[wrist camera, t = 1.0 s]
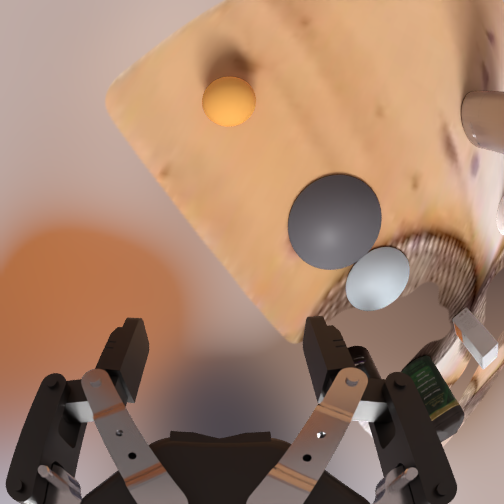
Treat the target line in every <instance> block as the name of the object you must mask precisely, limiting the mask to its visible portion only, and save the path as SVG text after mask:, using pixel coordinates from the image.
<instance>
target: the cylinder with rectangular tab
mask: <svg viewBox="0 0 504 504" xmlns="http://www.w3.org/2000/svg"><path fill="white" fill-rule="evenodd" d="M497 227H498V230H499V232H500V233H501V234H503V235H504V196H503V197H502V199H501V202H500V204H499V207H498V211H497Z"/></svg>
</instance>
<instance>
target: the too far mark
mask: <svg viewBox="0 0 504 504" xmlns="http://www.w3.org/2000/svg"><path fill="white" fill-rule="evenodd" d="M408 278H409V263H408V260H407V258H406V257H405V255H404V254H403V253H402V252H401V251H399V250H398V249H395V248H392V247H381V248H377V249H374V250H372V251H370V252H368V253H367V254H366V255H365V256H363V257H362V258H361V259H360V260H358V261H357V262H356V263H355V265H354V266H353V267H352V269H351V271H350V273H349V275H348V278H347V281H346V294H347V298H348V300H349V301H350V303H351V304H352V305H353V306H354V307H356V308H357V309H360V310H364V311H374V310H378V309H381V308H384V307H385V306H387V305H389V304H390V303H392V302H393V301H394V300H395V299H396V298H397V297H398V296H399V295H400V294H401V293H402V291H403V290H404V288H405V286H406V284H407V281H408Z"/></svg>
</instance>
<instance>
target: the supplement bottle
mask: <svg viewBox="0 0 504 504" xmlns="http://www.w3.org/2000/svg"><path fill="white" fill-rule="evenodd" d="M348 350H349V353H350V355H351V357H352V359H353V362H354V364H355V366H356V368H357V369H360V370H361V371H363V372H364V373H365V374H366V376H367V377H369V378H373V379H381V377H380V375H379V373H378V370H377V368H376V366H375V364H374V362H373V360H372V358H371V356H370V354H369V352H368V350H367V349H366V348H364V347H362V346H353V347H349V348H348Z"/></svg>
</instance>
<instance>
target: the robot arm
mask: <svg viewBox="0 0 504 504" xmlns="http://www.w3.org/2000/svg"><path fill="white" fill-rule="evenodd" d="M461 116H462V123H463V128H464V131H465V133H466V135H467V137H468V139H469V140H470V141H471V143H472V144H474V145H475V146H477V147H479V148H483V149H487V150H491V151H495V152H498V153H502V154H504V92H500V91H472V92H470V93H468V94H467V95H466V97H465V99H464V101H463V104H462V113H461ZM303 350H304V355H305V358H306V362H307V365H308V369H309V373H310V376H311V380H312V384H313V387H314V391H315V395H316V398H317V401H318V403H320V402H321V404H318V405H317V407H316V408H315V410H314V411H313V413H312V415H311V416H310V417H309V419H308V421H307V422H306V424H305V425H304V427H303V428H302V430H301V431H300V433H299V434H298V436H297V437H296V439H295V440H294V441H293V443H292V444H290V443H288V442H285V441H283V440H279V439H275V438H271V434H270V432H256V433H243V434H239V435H235V436H231V437H226V438H220V439H219V438H214V437H210V436H206V435H202V434H198V433H193V432H177V431H171V432H170V437H169V438H164V439H161V440H158V441H155V442H153V443H151V444H150V445H148V444H147V442H146V441H145V439H144V438H143V436H142V434H141V433H140V431H139V430H138V428H137V426H136V425H135V423H134V421H133V420H132V418H131V416H130V414H129V413H128V411H127V409H126V404H127V402H130V403H135V399H136V396H137V392H138V388H139V385H140V381H141V378H142V374H143V370H144V367H145V363H146V360H147V356H148V353H149V341H148V337H147V334H146V330H145V326H144V322H143V320H142V318H127V319H126V320H125V323H124V325H123V327H118V328H116V329H115V330H114V331H113V332H112V333H111V335H110V337H109V339H108V342H107V343H106V345H105V348H104V350H103V352H102V354H101V356H100V359H99V361H98V363H97V366H96V368H95V369H92V370H90V371H88V372H86V373H85V374H84V376H83V377H82V379H80V380H71V381H66V379H65V378H64V377H63V376H62V375H61V374H58V373H54V374H50V375H48V376H47V377H45V378H44V379H43V381H42V383H41V385H40V387H39V390H38V392H37V394H36V396H35V399H34V401H33V403H32V406H31V408H30V411H29V413H28V416H27V418H26V421H25V424H24V426H23V429H22V431H21V434H20V437H19V440H18V443H17V446H16V449H15V452H14V455H13V458H12V461H11V465H10V468H9V472H8V475H7V479H6V488H7V492H8V494H9V495H10V496H11V497H12V498H13V499H14V500H16V501H17V502H19V503H21V504H370V503H369V502H368V501H367V500H366V499H365V498H364V497H362V496H361V495H359V494H358V493H356V492H355V491H353V490H352V489H350V488H349V487H348V486H346V485H345V484H343V483H342V482H341V481H339V480H338V479H337V478H335V477H334V476H332V475H331V474H330V473H328V472H327V471H326V470H325V468H326V466H327V465H328V463H329V461H330V460H331V458H332V456H333V454H334V452H335V451H336V449H337V447H338V445H339V443H340V441H341V439H342V437H343V436H344V434H345V432H346V429H347V428H348V426H349V424H350V421H351V420H353V421H364V422H369V426H370V429H371V432H372V436H373V439H374V443H375V446H376V450H377V453H378V457H379V460H380V464H381V468H382V472H383V476H384V478H383V479H382V480H380V482H379V483H378V484H377V486H376V490H375V492H376V493H375V494H376V496H375V500H374V502H373V504H448V503H449V502H451V500H452V499H453V498H454V497H455V495H456V491H457V484H456V481H455V478H454V475H453V473H452V470H451V467H450V465H449V462H448V459H447V457H446V454H445V452H444V449H443V447H442V444H441V442H440V439H439V437H438V435H437V432H436V430H435V427H434V425H433V423H432V421H431V418H430V416H429V414H428V412H427V409H426V407H425V405H424V403H423V401H422V399H421V396H420V394H419V392H418V390H417V388H416V386H415V384H414V382H413V380H412V378H411V377H410V376H408V375H407V374H405V373H402V372H394V373H391V374H389V375H388V376H387V378H386V380H384V379H373V378H369V377H367V376H366V374H365V373H364V372H363V371H361V370H360V369H357V368H356V366H355V364H354V362H353V359H352V357H351V355H350V353H349V350H348V348H347V347H346V344H345V342H344V341H343V337H342V335H341V333H340V331H339V330H338V329H336V328H335V327H334V326H333V325H332V326H327V325H326V322H325V320H324V318H323V316H314V317H307V319H306V325H305V331H304V338H303ZM93 421H94V422H95V424H96V427H97V429H98V431H99V433H100V435H101V437H102V439H103V442H104V444H105V446H106V448H107V450H108V452H109V454H110V455H111V457H112V459H113V461H114V463H115V465H116V467H117V469H118V471H117V472H115V473H114V474H113V475H112V476H110V477H109V478H108V479H106V480H105V481H104V482H103V483H101V484H100V485H99V486H97V487H96V488H95V489H93V490H92V491H91V492H89V493H88V494H87V495H86V496H85V497H84V498H83V499H82V497H81V488H80V484H79V483H78V481H77V480H76V479H75V473H76V467H77V463H78V459H79V454H80V450H81V445H82V441H83V437H84V433H85V429H86V425H87V422H93Z"/></svg>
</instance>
